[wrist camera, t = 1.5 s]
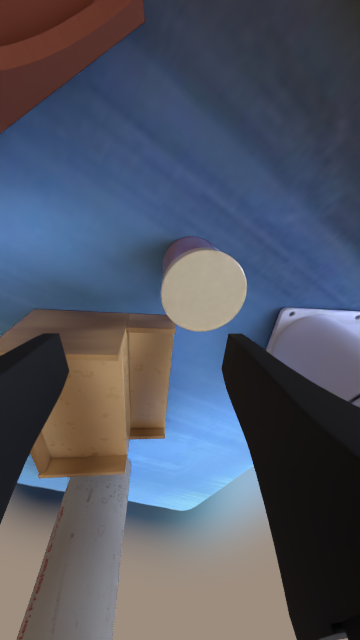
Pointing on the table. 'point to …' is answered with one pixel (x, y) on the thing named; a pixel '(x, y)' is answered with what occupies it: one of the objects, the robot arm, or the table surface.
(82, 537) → the thermos bottle
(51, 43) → the hanging shelf
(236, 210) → the table surface
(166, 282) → the spice jar
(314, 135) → the table surface
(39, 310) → the spice rack
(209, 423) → the table surface
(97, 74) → the table surface
